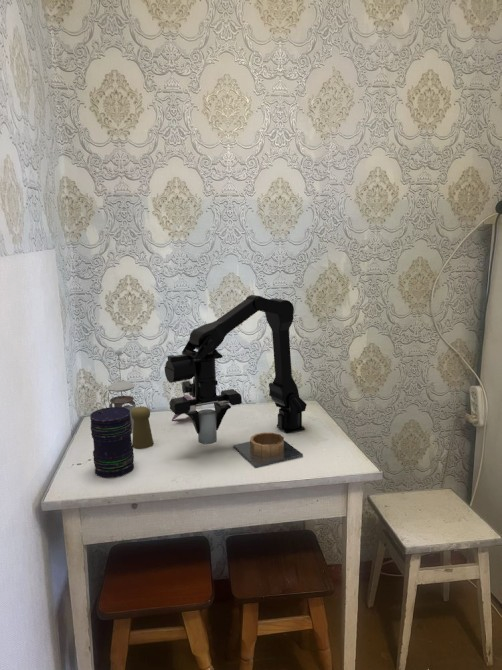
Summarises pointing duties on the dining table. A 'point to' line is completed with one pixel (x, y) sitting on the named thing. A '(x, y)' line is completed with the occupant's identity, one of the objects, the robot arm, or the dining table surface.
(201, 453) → the dining table surface
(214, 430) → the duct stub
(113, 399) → the french press
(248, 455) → the duct collar
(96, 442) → the storage jar
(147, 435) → the cork
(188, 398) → the lily
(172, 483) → the dining table surface
